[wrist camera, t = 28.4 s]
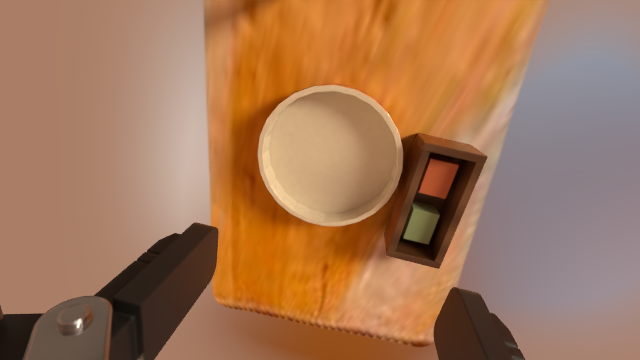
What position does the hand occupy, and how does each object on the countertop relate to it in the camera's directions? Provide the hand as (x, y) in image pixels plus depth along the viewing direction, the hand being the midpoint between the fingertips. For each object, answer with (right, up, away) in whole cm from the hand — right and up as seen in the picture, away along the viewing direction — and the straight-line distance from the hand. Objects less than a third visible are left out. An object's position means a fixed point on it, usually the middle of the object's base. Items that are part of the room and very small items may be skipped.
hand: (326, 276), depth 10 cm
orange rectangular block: (+13, +4, +24) cm, 27 cm away
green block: (+12, -1, +26) cm, 28 cm away
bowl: (+1, +6, +25) cm, 26 cm away
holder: (+12, +2, +25) cm, 28 cm away
